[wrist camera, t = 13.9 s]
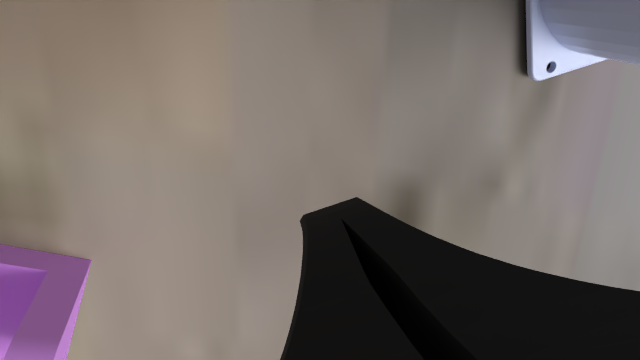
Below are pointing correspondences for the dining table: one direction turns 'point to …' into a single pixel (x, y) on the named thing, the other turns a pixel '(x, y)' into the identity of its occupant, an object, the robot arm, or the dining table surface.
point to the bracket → (38, 302)
